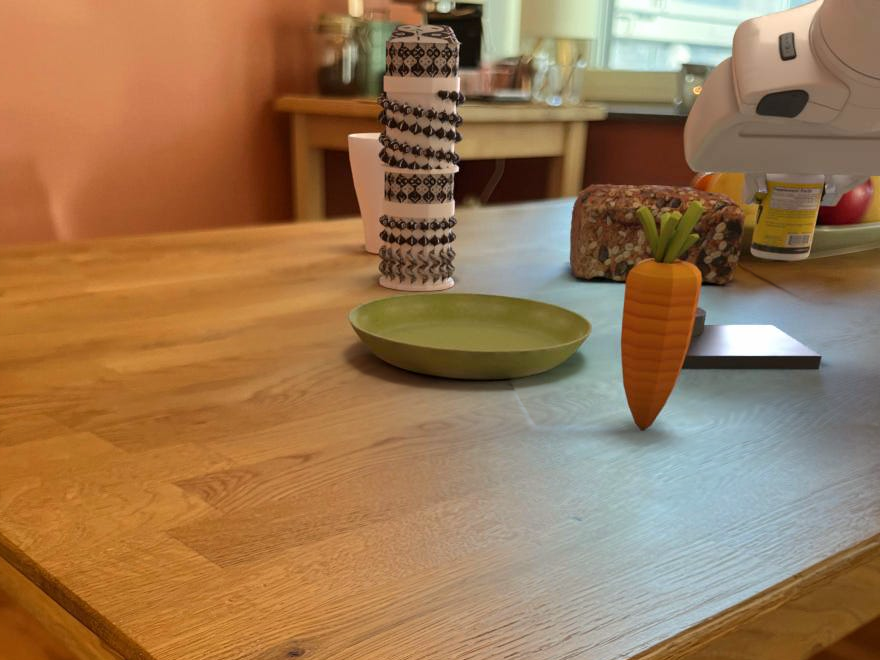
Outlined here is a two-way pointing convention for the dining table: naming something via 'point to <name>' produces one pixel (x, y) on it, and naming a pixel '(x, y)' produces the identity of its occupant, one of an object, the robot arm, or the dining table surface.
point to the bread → (624, 240)
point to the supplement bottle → (787, 216)
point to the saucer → (469, 334)
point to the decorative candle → (419, 157)
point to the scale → (745, 348)
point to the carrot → (659, 314)
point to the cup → (368, 185)
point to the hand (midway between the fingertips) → (786, 198)
